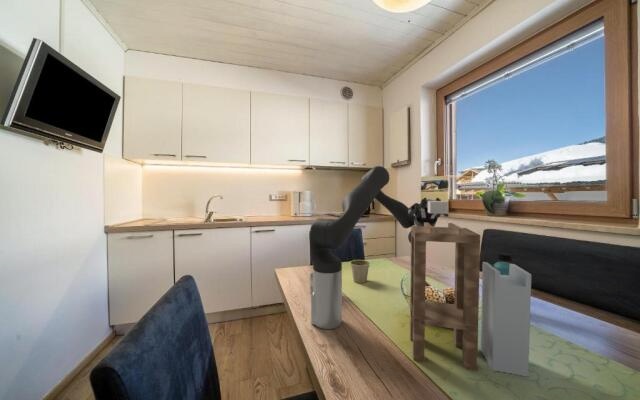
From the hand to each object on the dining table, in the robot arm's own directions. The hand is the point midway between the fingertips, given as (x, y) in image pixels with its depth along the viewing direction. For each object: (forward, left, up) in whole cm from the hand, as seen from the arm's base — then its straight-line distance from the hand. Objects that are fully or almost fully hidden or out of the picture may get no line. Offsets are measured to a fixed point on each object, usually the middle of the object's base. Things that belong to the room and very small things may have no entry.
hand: (431, 200), depth 80 cm
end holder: (+14, -18, -39) cm, 45 cm away
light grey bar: (0, -3, -1) cm, 3 cm away
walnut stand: (0, -17, -39) cm, 43 cm away
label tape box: (-40, +11, -39) cm, 57 cm away
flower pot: (-26, +28, -39) cm, 55 cm away
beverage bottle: (+26, +13, -39) cm, 49 cm away
